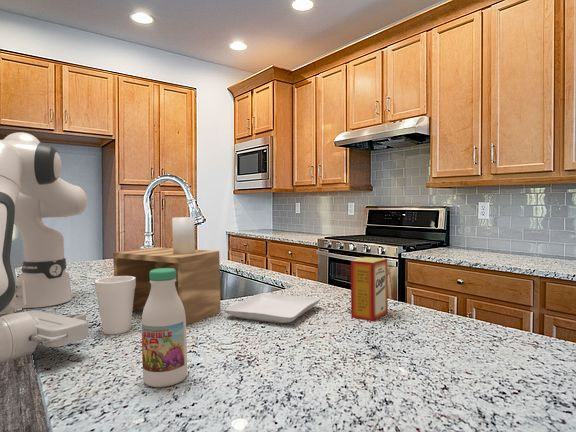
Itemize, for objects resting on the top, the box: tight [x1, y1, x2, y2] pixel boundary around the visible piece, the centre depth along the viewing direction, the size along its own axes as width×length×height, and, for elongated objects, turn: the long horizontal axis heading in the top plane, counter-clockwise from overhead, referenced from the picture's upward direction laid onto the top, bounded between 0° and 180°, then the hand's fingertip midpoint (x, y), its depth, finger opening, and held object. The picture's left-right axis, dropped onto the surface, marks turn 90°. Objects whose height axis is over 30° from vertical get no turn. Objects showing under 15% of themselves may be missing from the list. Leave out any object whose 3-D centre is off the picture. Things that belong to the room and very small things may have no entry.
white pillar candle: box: [171, 216, 196, 254], centre depth 109 cm, size 6×6×10 cm
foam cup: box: [94, 275, 136, 335], centre depth 99 cm, size 10×9×13 cm
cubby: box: [112, 246, 222, 327], centre depth 113 cm, size 27×15×18 cm, turn 61°
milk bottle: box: [141, 268, 188, 388], centre depth 71 cm, size 8×8×20 cm
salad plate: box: [224, 292, 322, 324], centre depth 112 cm, size 21×21×3 cm
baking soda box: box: [350, 256, 389, 323], centre depth 108 cm, size 10×6×16 cm
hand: (82, 317), depth 91 cm, fingers closed
